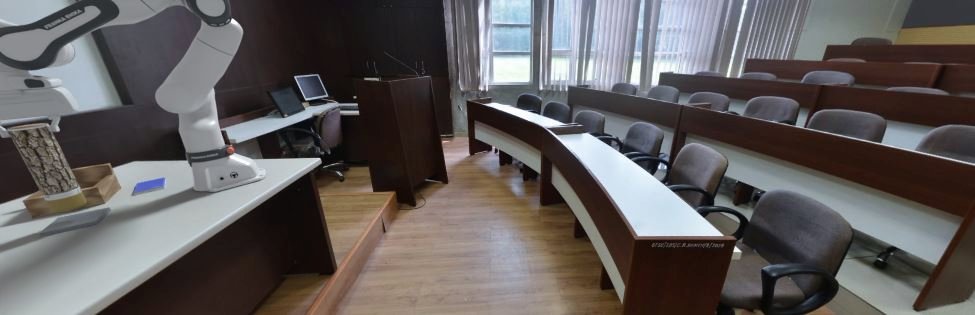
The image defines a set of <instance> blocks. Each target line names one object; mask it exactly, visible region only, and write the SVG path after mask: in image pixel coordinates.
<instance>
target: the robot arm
mask: <svg viewBox="0 0 975 315" xmlns="http://www.w3.org/2000/svg"><path fill="white" fill-rule="evenodd" d="M174 6H182V7H185V8H186V9H187V10H188V11H190V12H191V13H192V14H194V15H195V16H196V17H197V18H199V19H200V21H201V24H200V29H199V30H198V32H197V33H196V35H195V37H194V38H193V40H192V42H191V43H190V46H189V47H188V48H187V51H186V53H185V54H184V56H183V57H182V58H181V60H180V61H179V62H178V64H177V65H175V67H174V68H173V69H172V71H171V72H170V73H169V74H168V76H167V77H166V79H165V80H164V81H163V82H162V84H161V85H160V86H159V87H158V88H157V89H156V91H155V95H154V97H155V101H156V103H157V105H158V106H159V107H160V108H162V109H163V110H164V111H166V112H169V113H172V114H178V120H179V121H178V122H179V125H178V133H179V135H180V137H181V141H182V143H183V146H184V149H185V152H184V153H185V158H186V161H187V164H188V165H189V167H191V171H192V172H191V173H192V177H193V179H192V180H193V190H194V191H196V192H210V193H216V192H219V191H224V190H227V189H228V190H229V189H232V188H235V187H238V186H243V185H247V184H251V183H254V182H257V181H261V180H263V179H265V178H266V176H267V171H266V169H265V168H262V167H258V165H257V163H256V162H255V161H254V160H253V159H252V158H250V157H247V156H244V155H241V154H238V153H235V149H234V147H233V144H230V145H229V144H227V143H226V144H225V140H224V137H223V135H222V131H221V128H220V123H219V117H218V110H217V109H218V108H217V103H216V96H215V95H216V92H215V89H214V88H215V86H216V84H217V83H218V82H219V81H220V79H221V78H222V77H223V76H224V75H225V73H226V71H227V69H228V67H229V66H230V64H231V62H233V61H232V60H233V59H234V57H235V55H237V54H236V53H237V52H238V49H239V47H240V44H241V41H242V39H243V35H244V30H243V27H242V26H241V24H240V23H239V22H238V21H237V20H236V19H234V18H232V10H231V9H232V8H231V4H230V0H78V1H76V2H74V3H72V4H69V5H68V6H66V7H63V8H61V9H59V10H57V11H55V12H53V13H50V14H49V15H47V16H45V17H42V18H40V19H39V20H36V21H33V22H31V23H30V22H29V23H26V24H17V23H13V22H10V21H7V20H5V19H2V18H0V137H1V139H2V138H3V139H5V138H11V136H10V134H9V132H8V129H6V128H4V127H3V126H1V124H2V122H1V121H8V120H9V121H10V120H20V119H28V118H39V117H47V118H48V120H50V121H51V124H50V125H49V126H47V129H49V130H48V131H49V132H53V133H58V132H60V127H59V123H60V120H61V116H60V115H71V114H72V115H73V114H77V113H78V111H79V110H80V106H79V104H78V102H77V101H76V99H75V97H74V96H73V93H71V91H69V89H67V88H65V87H63V81H62V79H60V78H57V77H52V76H44V75H38V74H31V73H30V71H39V70H43V69H50V68H57V67H63V66H65V65H68V64H70V63H71V62H72V61H73V60H74V59H75V57H76V50H75V47H74V46H73V44H72V43H73V42H75V41H76V40H79V39H80V38H81V39H82V37H85V36H86V35H89V34H90V33H92V32H94V31H96V30H98V29H102V28H105V27H111V26H121V25H134V24H137V23H141V22H143V21H147V20H148V19H151V18H152V17H154V16H156V15H158V14H159V13H161V12H162V11H164V10H166V9H167V8H171V7H174Z"/></svg>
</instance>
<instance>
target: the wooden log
mask: <svg viewBox="0 0 975 315" xmlns="http://www.w3.org/2000/svg"><path fill="white" fill-rule="evenodd" d="M47 126H50V125H49V123H48V122H45V123H44V122H43V123H42V122H41V123H32V124H31V123H30V124H24V125H18V126H17V125H16V126H12V127H7V129H6V130H8V132H9V134H10V136H11V137H10V138H11V139H12V141H13V143H14V145H15V147H16V149H17V150H18V152H19V154H20V157H21V158H22V160H23V161H24V163H25V166H26V167H27V169H28V171H29V173H30V174H31V176H32V179H33V180H34V182H35V183H36V186H37V188H38V189H39V190H40V191H41V193H42V195H43V197H44V199H45V200H46V202H47V204H48V206H49V208H50V209H51V211H52V212H56V213H55V214H59V212H60V213H66V212H69V211H74V209H75V210H78V209H77V208H80V207H82V206H84V205H85V204H86V203H87V201H86V199H85V197H84V195H83V193H82V191H81V189H80V187H79V185H78V183H77V181H76V179H75V176H74V174H73V172H72V170H71V167H70V164H69V163H68V161H67V159H66V157H65V154H64V152H63V151H62V148H61V146H60V144H59V143H58V141H57V138H56V137H55V134H54V132H49V131H48V130H49V129H47ZM80 209H81V208H80Z"/></svg>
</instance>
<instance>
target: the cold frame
mask: <svg viewBox="0 0 975 315" xmlns="http://www.w3.org/2000/svg"><path fill="white" fill-rule="evenodd" d="M71 170H72V172H73V174H74V176H75V179H76V181H77V183H78V185H79V187H80V189H81V191H82V193H83V195H84V197H85V199H86V201H87V203H86V204H85V205H84V206H82V207H80V208H77V209H74V210H79V209H83V208H88V207H93V206H98V205H103V204H104V205H105V204H106V203H107V202H108V201H110V200H111V199H112V197H113V196H115V195H116V194H117V193H118V191H120V189H122V185H121V184H120V182H119V180H118V177H117V176H116V172H114V169H113V166H112V165H111V163H110V162H108V163H104V164H96V165H89V166H84V167H77V168H72V169H71ZM22 203H23V205H24V207H25V208H26V210H27V211H28V213H29V215H30V217H31V219H34V218H38V217H39V218H40V217H43V216H49V215H53V214H54V213H55V214H57V213H56V212H52V211H51V209H50V208H49V206H48V204H47V202H46V200H45V199H44V197H43V195H42V193H41V191H40V189H39V190H38V191H36V192H34V193H32V194H31V195H29V196H28V197H26V198H24V199H23V200H22ZM74 210H73V211H74ZM55 214H54V215H55Z"/></svg>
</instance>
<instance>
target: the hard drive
mask: <svg viewBox="0 0 975 315" xmlns="http://www.w3.org/2000/svg"><path fill="white" fill-rule="evenodd" d="M166 181H167V179H166V177H161V178H160V177H159V178H155V179H152V180H150V179H149V180H146V181H141V182H137V183H136V184H135V187H134V191H133V193H132V194H133V196H137V195H142V194H146V193H150V192H155V191H159V190H164V189H166V185H165V184H166Z"/></svg>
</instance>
